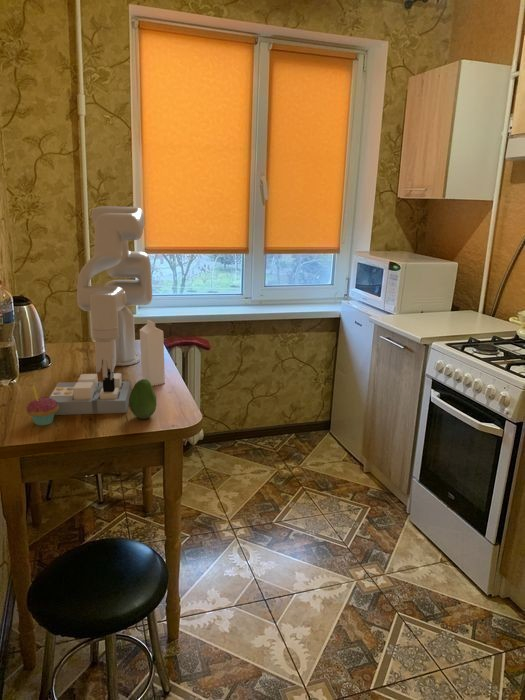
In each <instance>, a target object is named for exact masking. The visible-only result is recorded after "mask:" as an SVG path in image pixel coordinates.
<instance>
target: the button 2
mask: <svg viewBox="0 0 525 700" xmlns="http://www.w3.org/2000/svg"><path fill="white" fill-rule="evenodd" d="M75 382H76V381H75ZM73 393H74V400H92V399H93V398H94V384H93V382H78V381H77V382H76V384H75V386H74V388H73Z"/></svg>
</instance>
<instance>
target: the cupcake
mask: <svg viewBox="0 0 525 700" xmlns="http://www.w3.org/2000/svg"><path fill="white" fill-rule="evenodd" d="M31 386H32V387H31V388H32V391H33V394H34V397H35V399H33V400H31V401H30V402H29V403H28V404H27V406H26V407H25V410H26V412H27V414H28V415H29V416H31V418H32V420H33V422H34V424H35V425H36V426H48V425H50V424H52V423H53V422H54V417H55V415H54V414H55V413H56V412H57V411H58V410H59V405H58V402H56V401H55V400H54V399H51V398H49V397H39V396H38V393H37V389H36V387H35V385H34V384H33V383H31Z"/></svg>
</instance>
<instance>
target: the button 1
mask: <svg viewBox="0 0 525 700" xmlns="http://www.w3.org/2000/svg"><path fill="white" fill-rule="evenodd" d="M77 382H93V384H94V390H97V389H98V382H99V377H98V373H81V374H80V376H79V377H78V379H77Z"/></svg>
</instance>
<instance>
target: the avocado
mask: <svg viewBox="0 0 525 700" xmlns="http://www.w3.org/2000/svg"><path fill="white" fill-rule="evenodd" d="M157 405H158V404H157V395H156V393H155V390H154V388H153V386H152V385H151V383H150V382H149V381H148V380H147V379H142V378H141V379H140V380H138V381H136V383H135V384H134V385H133V387H132V392H131V395H130V398H129V404H128V407H129V409H130V411H131V413H132V414H133V415H134V416H135V417H136V418H137V419H140V420H146V419H147V420H148V419H149V418H150V417H152V415H153V414H154V413H155V411H156V410H157V409H156V408H157Z"/></svg>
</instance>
